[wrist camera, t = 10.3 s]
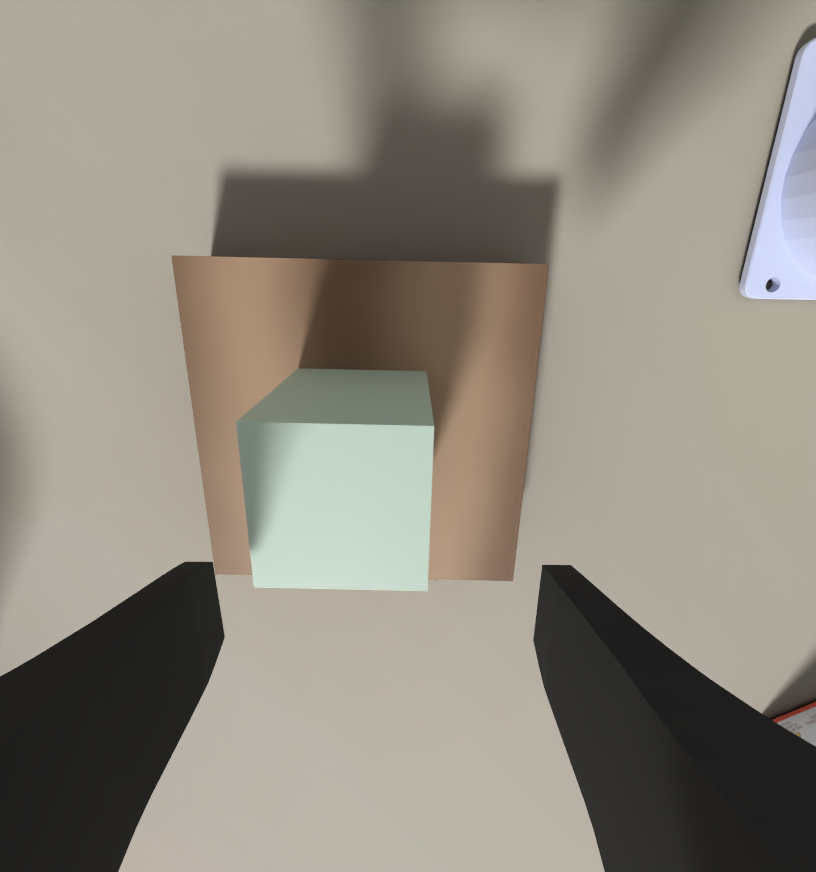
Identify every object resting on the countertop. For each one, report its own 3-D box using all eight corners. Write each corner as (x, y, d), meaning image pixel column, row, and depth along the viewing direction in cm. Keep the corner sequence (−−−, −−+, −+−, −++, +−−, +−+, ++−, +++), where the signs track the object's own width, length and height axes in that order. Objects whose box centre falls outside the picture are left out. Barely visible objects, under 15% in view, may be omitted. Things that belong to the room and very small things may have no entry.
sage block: (426, 371, 16) (434, 426, 10) (422, 487, 17) (427, 591, 12) (298, 368, 16) (235, 421, 10) (304, 484, 17) (253, 587, 12)
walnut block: (527, 265, 18) (549, 264, 15) (499, 540, 22) (512, 581, 19) (210, 258, 18) (171, 255, 15) (241, 534, 22) (215, 574, 19)
